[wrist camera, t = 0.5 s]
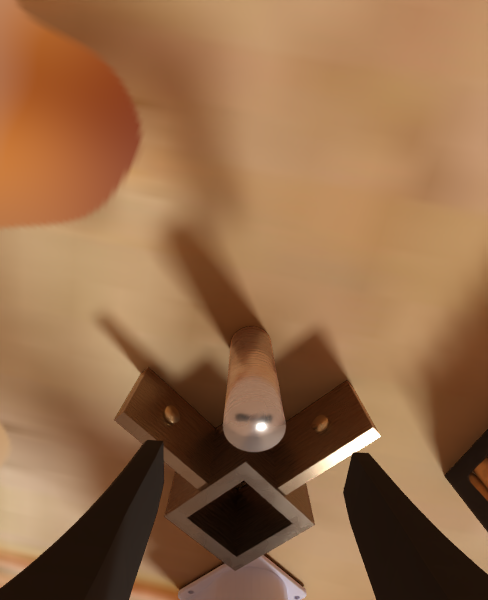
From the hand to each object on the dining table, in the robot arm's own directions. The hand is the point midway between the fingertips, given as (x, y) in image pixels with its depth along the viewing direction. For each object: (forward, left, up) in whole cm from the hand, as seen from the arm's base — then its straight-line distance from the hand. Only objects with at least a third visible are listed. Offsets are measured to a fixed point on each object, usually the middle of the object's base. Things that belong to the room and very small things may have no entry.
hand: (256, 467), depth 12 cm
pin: (0, 0, -10) cm, 10 cm away
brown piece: (-3, -4, -10) cm, 11 cm away
